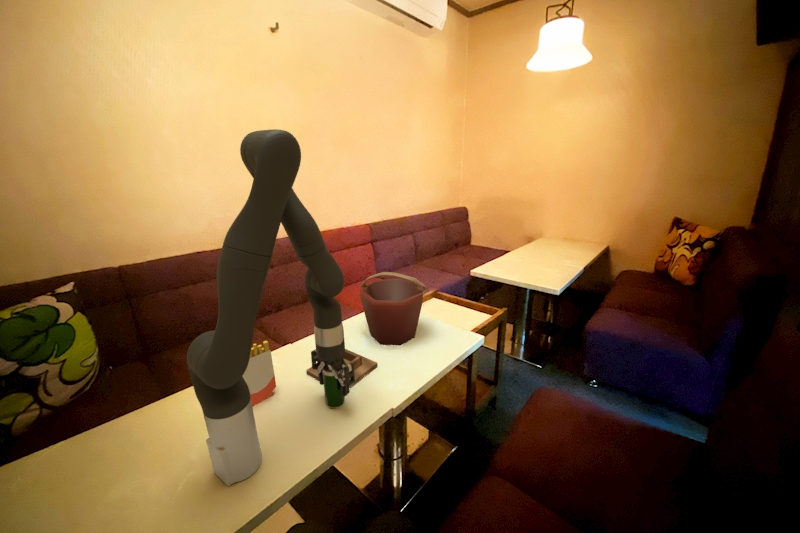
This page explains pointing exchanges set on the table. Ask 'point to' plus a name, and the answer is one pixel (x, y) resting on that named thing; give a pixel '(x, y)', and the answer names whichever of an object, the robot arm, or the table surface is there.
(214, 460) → the robot arm
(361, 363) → the can holder
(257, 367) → the french fries container
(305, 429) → the table surface
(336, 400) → the beer can
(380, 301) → the bucket
